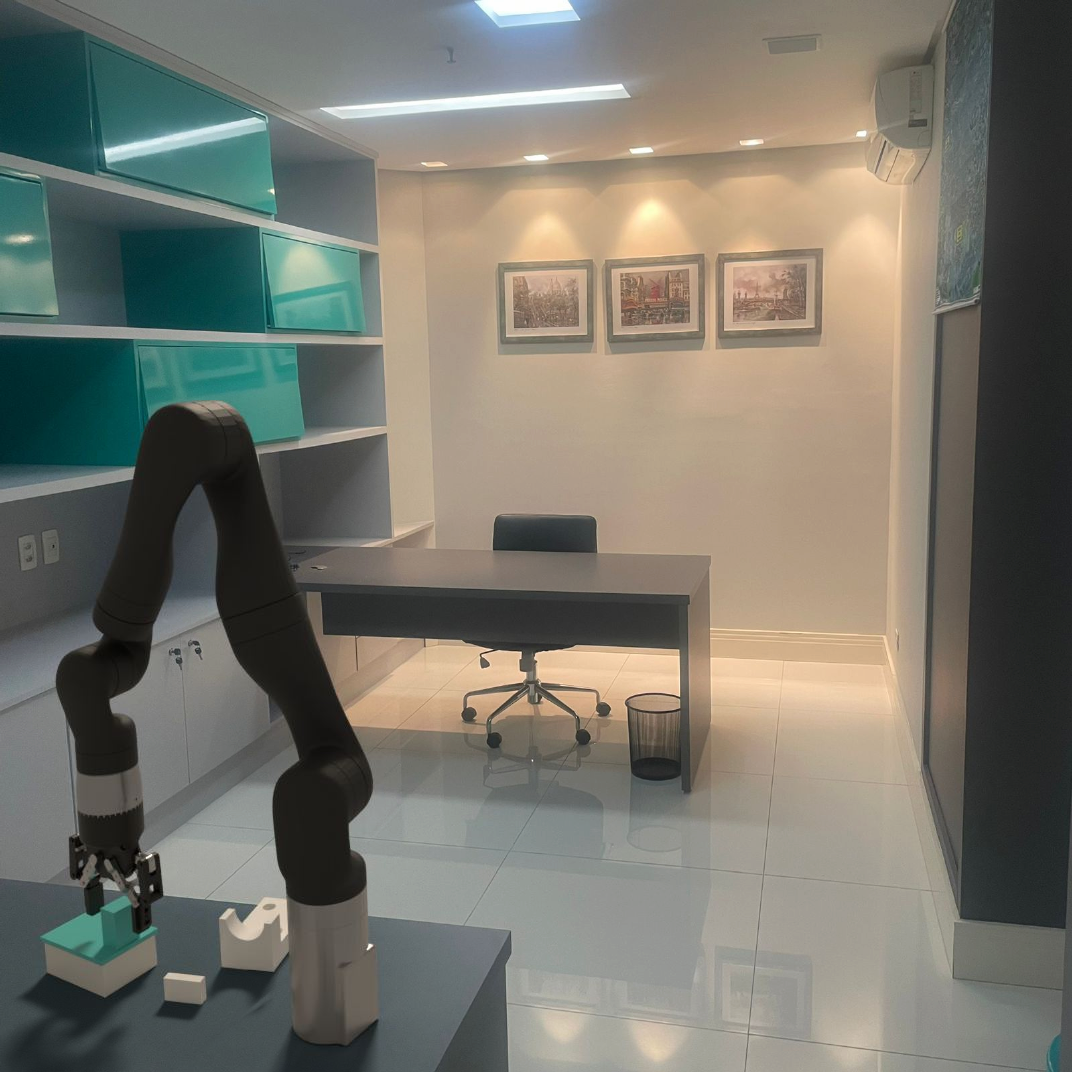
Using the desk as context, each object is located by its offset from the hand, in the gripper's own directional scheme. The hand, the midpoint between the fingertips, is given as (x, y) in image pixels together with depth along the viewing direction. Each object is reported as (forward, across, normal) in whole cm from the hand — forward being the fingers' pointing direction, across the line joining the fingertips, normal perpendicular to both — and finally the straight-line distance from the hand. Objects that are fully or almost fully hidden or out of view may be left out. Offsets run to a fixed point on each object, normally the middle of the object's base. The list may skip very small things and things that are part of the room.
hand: (118, 921), depth 132 cm
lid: (+3, +4, 0) cm, 5 cm away
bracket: (+8, -11, -15) cm, 20 cm away
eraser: (+8, -11, -1) cm, 14 cm away
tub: (+8, +4, 0) cm, 9 cm away
